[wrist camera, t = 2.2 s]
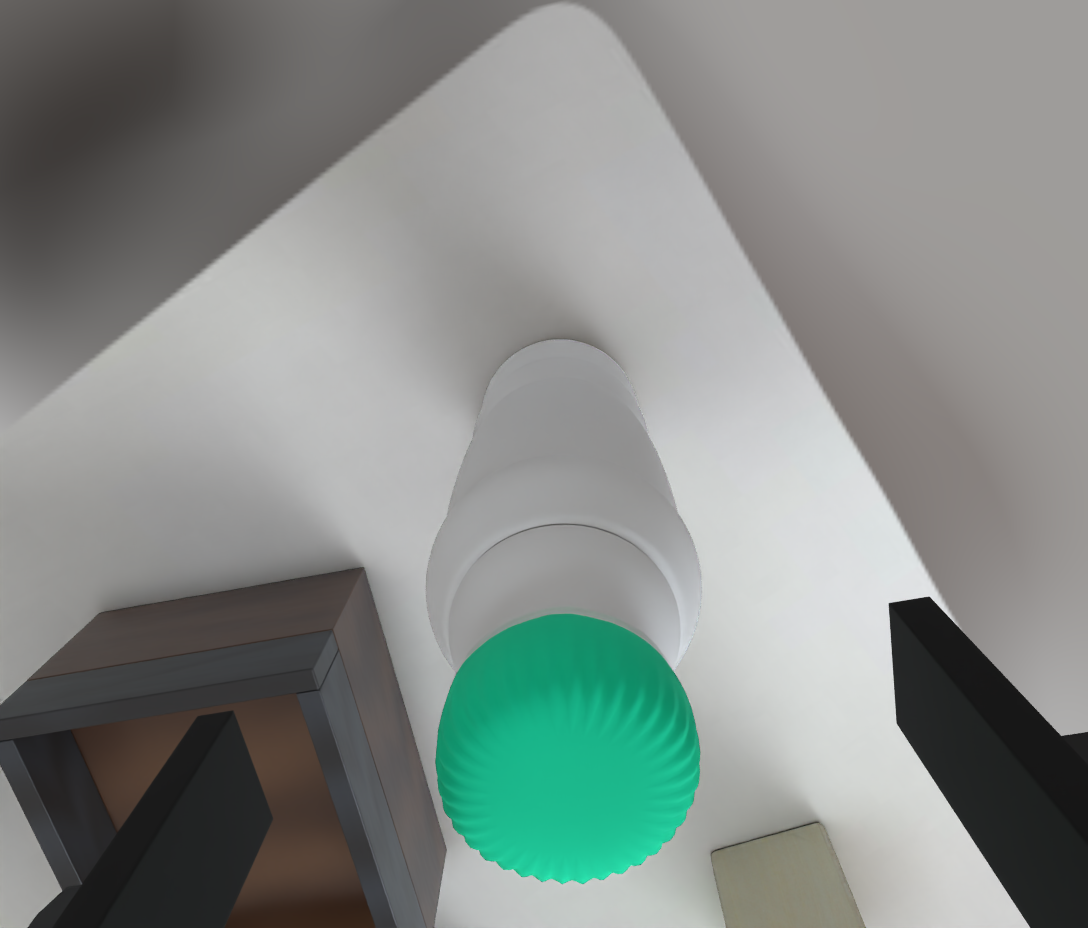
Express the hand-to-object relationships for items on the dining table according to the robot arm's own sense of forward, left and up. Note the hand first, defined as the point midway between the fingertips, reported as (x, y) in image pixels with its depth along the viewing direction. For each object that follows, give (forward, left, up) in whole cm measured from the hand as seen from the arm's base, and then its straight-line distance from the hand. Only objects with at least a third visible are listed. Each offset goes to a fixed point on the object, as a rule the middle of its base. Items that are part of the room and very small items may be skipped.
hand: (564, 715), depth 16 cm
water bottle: (0, 0, -23) cm, 23 cm away
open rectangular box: (+15, -18, -23) cm, 32 cm away
